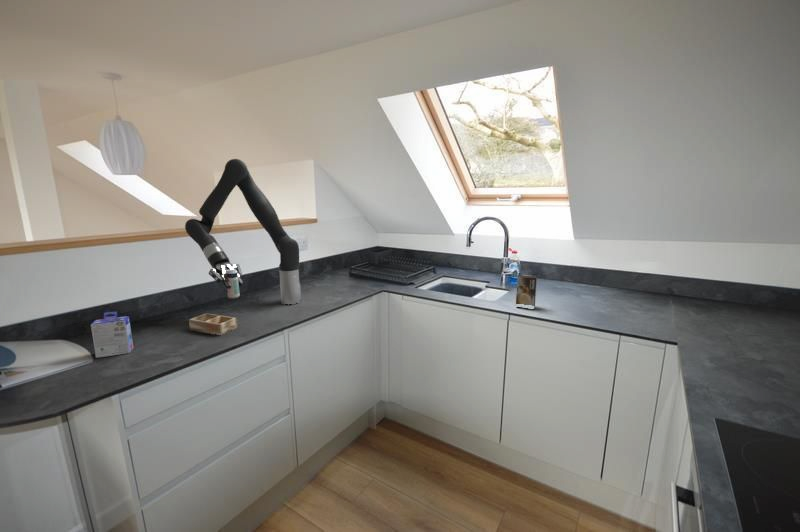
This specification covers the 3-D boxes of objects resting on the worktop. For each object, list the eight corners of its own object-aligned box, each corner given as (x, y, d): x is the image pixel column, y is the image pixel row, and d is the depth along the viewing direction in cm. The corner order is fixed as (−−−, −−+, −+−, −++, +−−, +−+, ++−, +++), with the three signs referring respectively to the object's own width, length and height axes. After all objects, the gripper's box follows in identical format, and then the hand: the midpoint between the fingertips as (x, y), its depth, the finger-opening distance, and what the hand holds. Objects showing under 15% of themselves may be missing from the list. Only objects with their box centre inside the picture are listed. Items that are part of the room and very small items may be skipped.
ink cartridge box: (134, 347, 133) (128, 309, 130) (130, 353, 128) (125, 313, 125) (100, 352, 129) (93, 312, 126) (95, 358, 124) (88, 317, 121)
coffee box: (535, 306, 184) (537, 275, 181) (534, 310, 178) (537, 278, 175) (516, 304, 188) (518, 273, 184) (514, 308, 182) (517, 276, 179)
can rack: (207, 323, 158) (206, 313, 157) (237, 328, 152) (236, 317, 151) (189, 330, 150) (188, 319, 149) (220, 335, 144) (219, 324, 143)
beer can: (230, 295, 162) (227, 269, 159) (241, 295, 162) (238, 268, 160) (226, 298, 157) (223, 271, 154) (237, 298, 157) (235, 271, 155)
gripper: (203, 253, 153) (223, 284, 150) (233, 248, 165) (253, 277, 162) (197, 264, 157) (216, 295, 153) (227, 258, 169) (246, 287, 165)
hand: (235, 286), depth 158 cm, fingers closed on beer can, 4 cm apart
